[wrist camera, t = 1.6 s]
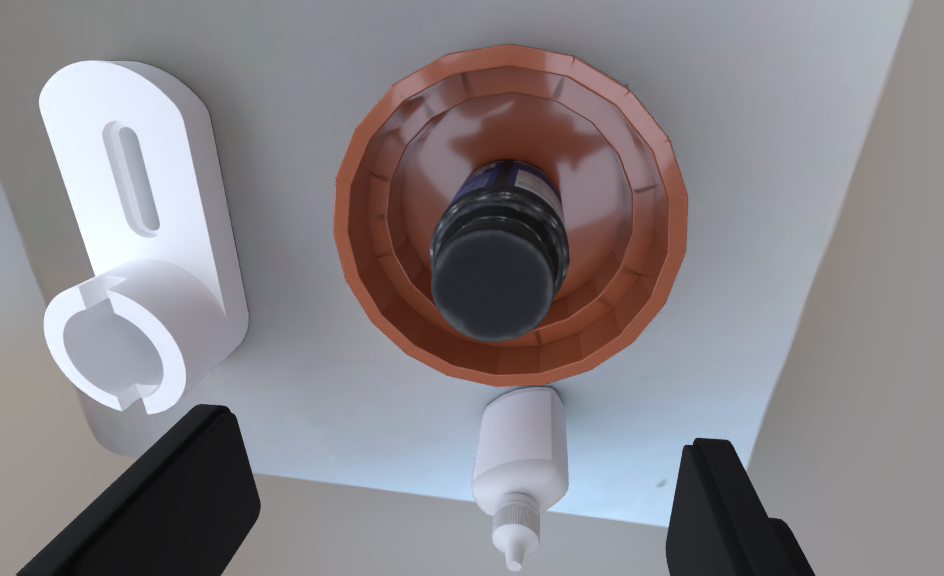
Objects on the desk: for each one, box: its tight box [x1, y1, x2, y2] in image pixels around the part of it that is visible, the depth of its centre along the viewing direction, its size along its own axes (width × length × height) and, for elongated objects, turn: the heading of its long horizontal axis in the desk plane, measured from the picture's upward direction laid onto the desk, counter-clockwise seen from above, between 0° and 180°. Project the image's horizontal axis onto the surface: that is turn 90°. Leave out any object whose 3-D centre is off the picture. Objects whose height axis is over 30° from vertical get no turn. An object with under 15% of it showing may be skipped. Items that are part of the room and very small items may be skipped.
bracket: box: [39, 61, 249, 414], centre depth 29 cm, size 20×9×7 cm, turn 179°
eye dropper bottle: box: [471, 387, 569, 571], centre depth 29 cm, size 4×6×12 cm
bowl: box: [333, 44, 688, 387], centre depth 26 cm, size 17×17×6 cm
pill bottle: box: [430, 159, 570, 342], centre depth 23 cm, size 6×6×11 cm
